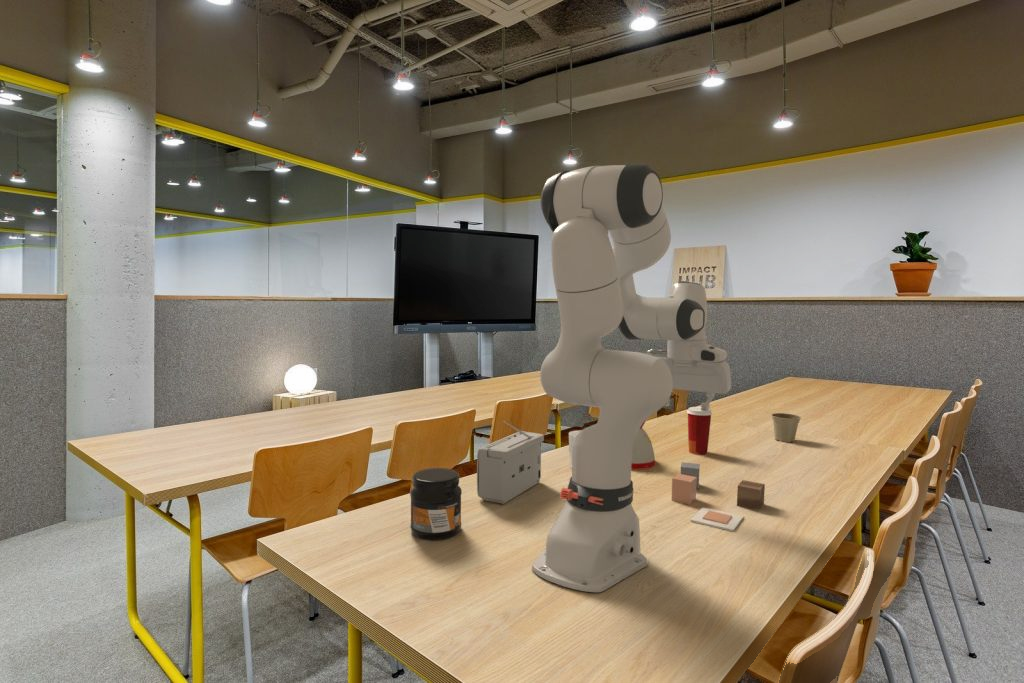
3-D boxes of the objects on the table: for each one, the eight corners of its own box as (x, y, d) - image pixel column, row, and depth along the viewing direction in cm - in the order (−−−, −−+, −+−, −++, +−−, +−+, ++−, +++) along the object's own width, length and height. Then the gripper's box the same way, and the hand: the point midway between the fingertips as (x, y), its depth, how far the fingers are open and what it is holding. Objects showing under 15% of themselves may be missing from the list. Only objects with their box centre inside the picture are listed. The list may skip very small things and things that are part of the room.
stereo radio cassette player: (518, 477, 152) (518, 404, 150) (545, 482, 147) (546, 407, 146) (475, 501, 133) (475, 418, 132) (504, 507, 129) (505, 422, 128)
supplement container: (441, 546, 109) (441, 486, 108) (399, 534, 114) (399, 477, 113) (471, 527, 118) (471, 471, 117) (431, 517, 123) (431, 464, 122)
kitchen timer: (646, 472, 157) (648, 419, 156) (600, 464, 164) (601, 414, 163) (659, 459, 169) (661, 411, 168) (616, 453, 176) (617, 406, 175)
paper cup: (713, 451, 179) (714, 408, 178) (707, 456, 173) (709, 412, 172) (688, 447, 184) (690, 405, 182) (681, 452, 177) (683, 409, 176)
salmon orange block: (690, 504, 133) (690, 482, 132) (671, 500, 135) (672, 478, 135) (695, 499, 136) (696, 477, 136) (677, 495, 139) (678, 473, 138)
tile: (733, 531, 117) (733, 528, 117) (690, 521, 122) (690, 518, 122) (743, 517, 125) (743, 514, 125) (702, 508, 130) (702, 506, 130)
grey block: (698, 489, 143) (699, 468, 143) (680, 487, 145) (680, 466, 144) (698, 484, 147) (699, 463, 147) (681, 482, 149) (681, 462, 148)
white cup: (594, 472, 156) (595, 437, 155) (566, 470, 157) (567, 436, 157) (596, 464, 164) (597, 431, 163) (569, 462, 165) (570, 429, 164)
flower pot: (805, 443, 190) (806, 418, 189) (777, 443, 190) (778, 418, 189) (791, 437, 199) (793, 413, 199) (765, 436, 199) (766, 412, 199)
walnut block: (759, 510, 129) (760, 489, 129) (736, 506, 132) (737, 485, 132) (763, 504, 133) (764, 484, 133) (741, 500, 136) (742, 479, 136)
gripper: (639, 349, 136) (638, 405, 137) (727, 355, 124) (725, 416, 126) (649, 347, 141) (648, 401, 143) (734, 352, 129) (732, 410, 131)
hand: (685, 408), depth 134 cm, fingers open, 8 cm apart
